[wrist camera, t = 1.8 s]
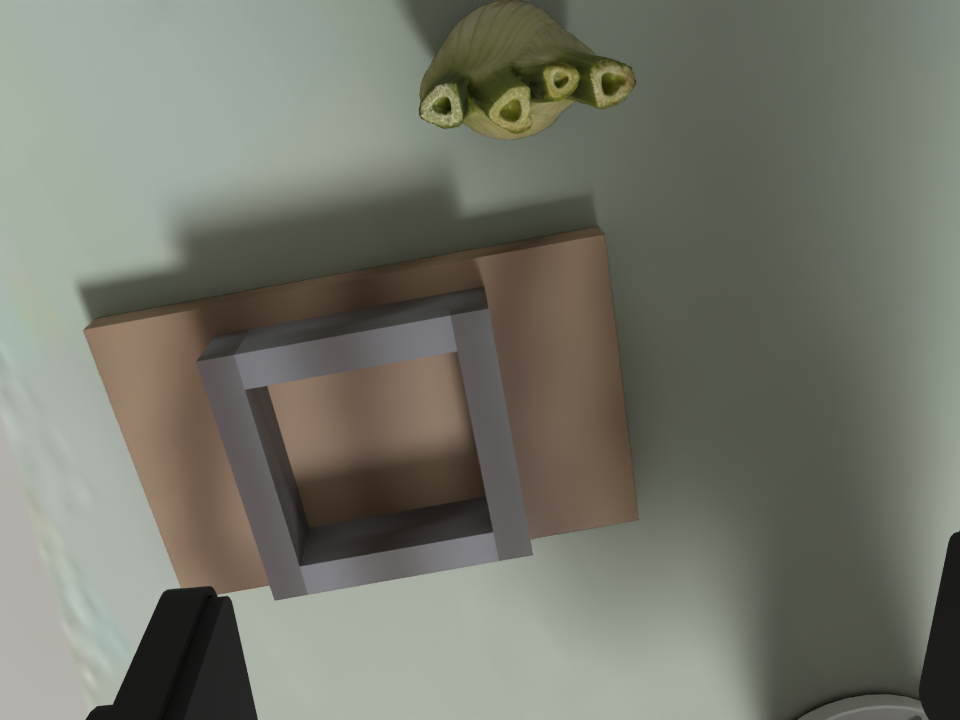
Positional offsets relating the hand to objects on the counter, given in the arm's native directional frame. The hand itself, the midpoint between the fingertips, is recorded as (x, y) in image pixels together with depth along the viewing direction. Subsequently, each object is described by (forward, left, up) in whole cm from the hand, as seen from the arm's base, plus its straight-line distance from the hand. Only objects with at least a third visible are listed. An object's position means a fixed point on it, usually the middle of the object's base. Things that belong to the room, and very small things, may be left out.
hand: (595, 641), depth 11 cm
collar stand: (+6, +8, -26) cm, 28 cm away
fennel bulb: (-2, -6, -26) cm, 27 cm away
